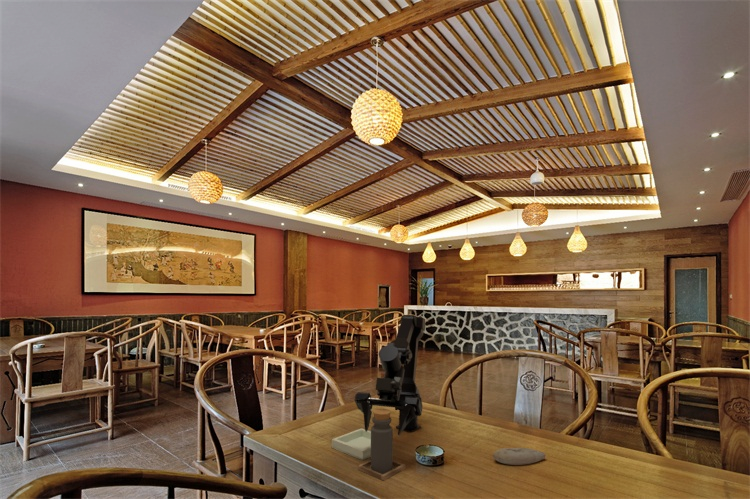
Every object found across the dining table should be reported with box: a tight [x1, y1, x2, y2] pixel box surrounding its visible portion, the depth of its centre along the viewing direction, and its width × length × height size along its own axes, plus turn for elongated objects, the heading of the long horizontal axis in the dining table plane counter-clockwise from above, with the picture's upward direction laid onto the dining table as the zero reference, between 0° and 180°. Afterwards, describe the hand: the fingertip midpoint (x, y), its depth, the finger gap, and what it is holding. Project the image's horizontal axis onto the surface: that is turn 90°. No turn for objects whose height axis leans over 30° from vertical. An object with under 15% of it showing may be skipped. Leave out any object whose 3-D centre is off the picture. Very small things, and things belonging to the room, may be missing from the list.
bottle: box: [370, 408, 394, 474], centre depth 109 cm, size 6×6×15 cm
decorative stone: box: [492, 447, 546, 466], centre depth 114 cm, size 6×16×3 cm, turn 101°
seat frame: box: [357, 459, 406, 481], centre depth 108 cm, size 9×9×1 cm
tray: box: [331, 428, 371, 461], centre depth 123 cm, size 13×13×2 cm
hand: (382, 432), depth 109 cm, fingers open, 9 cm apart
